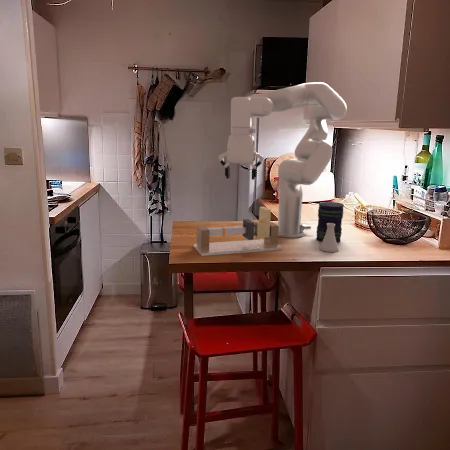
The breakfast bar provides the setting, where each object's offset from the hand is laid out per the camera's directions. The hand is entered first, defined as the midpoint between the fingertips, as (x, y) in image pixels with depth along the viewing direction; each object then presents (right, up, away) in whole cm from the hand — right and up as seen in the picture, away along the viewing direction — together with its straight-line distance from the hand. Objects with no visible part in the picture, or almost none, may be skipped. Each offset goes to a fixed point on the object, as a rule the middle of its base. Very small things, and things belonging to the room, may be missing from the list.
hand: (240, 178), depth 166 cm
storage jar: (+36, -24, +14) cm, 45 cm away
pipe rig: (-1, -26, 0) cm, 26 cm away
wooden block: (+7, -21, +2) cm, 23 cm away
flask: (+33, -27, +1) cm, 43 cm away
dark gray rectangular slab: (+3, -22, 0) cm, 22 cm away
